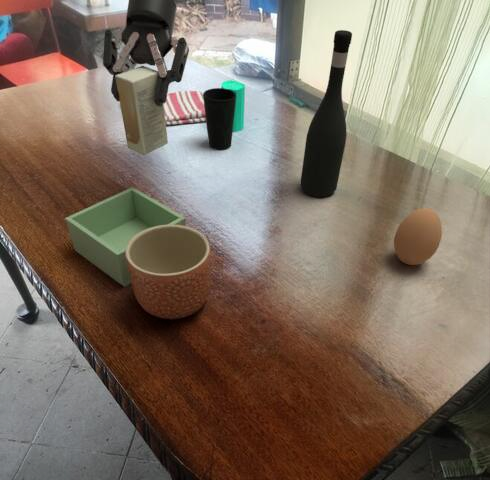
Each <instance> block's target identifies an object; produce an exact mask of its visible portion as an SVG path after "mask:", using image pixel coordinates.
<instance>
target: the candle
mask: <svg viewBox="0 0 490 480" xmlns="http://www.w3.org/2000/svg"><path fill="white" fill-rule="evenodd" d="M221 88H224V89H229V90H232V91H233V92H235V93H236V103H235V113H234V122H233V132H232V133H235V132H237V133H238V132H240V131H242V130H244V127H245V95H246V94H245V93H246V85H245V83H242V82H240V81H237V80H234V77H232V79H228V80H225V81H223V82H221Z"/></svg>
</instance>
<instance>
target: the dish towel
mask: <svg viewBox="0 0 490 480" xmlns="http://www.w3.org/2000/svg"><path fill="white" fill-rule="evenodd" d="M203 93H204V92H202V91H200V90H181V91H175V92H169V93H167V99H166V102H165V103H163V104H164V112H165V121H166V126H167V125H168V126H169V125H170V126H171V125H181V124H190V123H191V124H192V123H201V122H206V116H205V107H204V99H203Z"/></svg>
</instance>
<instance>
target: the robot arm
mask: <svg viewBox="0 0 490 480" xmlns="http://www.w3.org/2000/svg"><path fill="white" fill-rule="evenodd" d="M178 5H179V0H128V4H127V9H126V10H127V11H126V17H125V27H124V28H123V30H122V32H121V33H117V32H116V33H113V32H112V30H110V29H106V30H105V31H104V38H103V39H104V40H103V55H102V56H103V57H102V65H103V67H104V68H105V69H106V70H107V72H108V73H109V74H110V75H111V76H112V81H111V87H110V92H111V95H113V98H114V99H115V101H116V102H120V100H119V95H118V89H117V83H116V78H115V75H118V74H121V73H124V72H126V71H129V70H132V69H135V68H136V66H137V65H149V66H156V68H157V71H158V72H159V75H160V78H157V84H156V90H155V96H154V102H155V104H156V105H157V106H159V107H162V104H163V103H165V102H166V99H167V94H169V93H168V92H169V86H170V84H172V83H174V82H176V83H180V82H181V81H182V80H183V76H184V73H185V68H186V66H187V65H186V64H187V61H188V58H189V57H188V56H189V53H190V47H189V45H188V43H187V40H186V38H185V37H179V38H178V39H177V38H173V32H174V26H175V22H176V21H175V20H176V15H177V14H176V13H177V8H178ZM121 44H124V47H123V48H122V49H121V51H120V53H119V54H118V51H119V50H120V48H121ZM171 50H173V53H174V55H173V59H172V63H171V66H170V67H171V68H170V69H168V66H167V64H166V60H165V57H166V56H167V55H168V54H169V53H170V52H171ZM118 55H119V57H118ZM117 58H118V59H117Z"/></svg>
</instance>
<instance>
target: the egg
mask: <svg viewBox="0 0 490 480" xmlns="http://www.w3.org/2000/svg"><path fill="white" fill-rule="evenodd" d="M395 231H396V232H395V234H394V237H393V248H394V252H395V254H396V256H397V258H398V259H399V260H400V261H401V262H402V263H403V264H405V265H409V266H418V265H420V264H423V263H425V262H426V261H428V260H429V259H431V258H432V257H433V256H434V255H435V253H436V252H437V250H438V248H439V247H440V244H441V241H442V237H443V234H442V233H443V228H442V222H441V219H440V217H439V215H438V214H437V212H436V211H435V210H433V209H431V208H428V207H421V208H418V209H414V210H413V211H411V212H410V213H409V214H407V216H406V217H405V218H404V219H403V220H402V221H401V222H400V224H399V226H398V227H397V229H396V230H395Z"/></svg>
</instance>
